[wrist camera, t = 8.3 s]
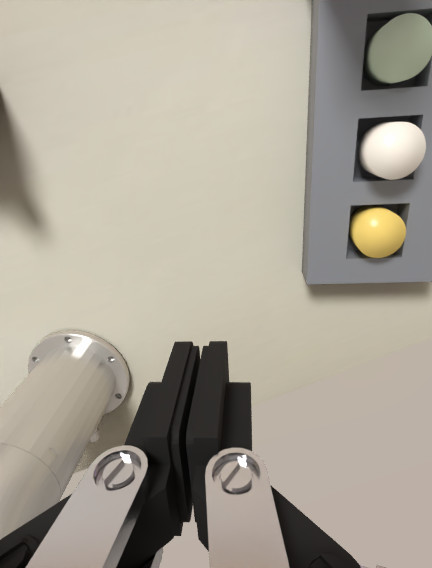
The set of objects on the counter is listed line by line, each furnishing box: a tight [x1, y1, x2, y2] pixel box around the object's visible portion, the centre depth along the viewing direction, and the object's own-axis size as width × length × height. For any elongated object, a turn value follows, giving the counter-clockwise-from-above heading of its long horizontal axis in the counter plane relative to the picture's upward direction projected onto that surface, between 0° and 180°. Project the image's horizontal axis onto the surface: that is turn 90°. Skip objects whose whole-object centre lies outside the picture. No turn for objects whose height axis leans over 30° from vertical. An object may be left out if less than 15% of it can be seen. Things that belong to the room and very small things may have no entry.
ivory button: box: [357, 122, 426, 180], centre depth 30 cm, size 4×4×3 cm
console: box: [302, 0, 432, 284], centre depth 32 cm, size 24×12×4 cm, turn 3°
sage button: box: [363, 13, 432, 85], centre depth 28 cm, size 4×4×3 cm
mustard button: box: [348, 204, 406, 258], centre depth 34 cm, size 4×4×3 cm
